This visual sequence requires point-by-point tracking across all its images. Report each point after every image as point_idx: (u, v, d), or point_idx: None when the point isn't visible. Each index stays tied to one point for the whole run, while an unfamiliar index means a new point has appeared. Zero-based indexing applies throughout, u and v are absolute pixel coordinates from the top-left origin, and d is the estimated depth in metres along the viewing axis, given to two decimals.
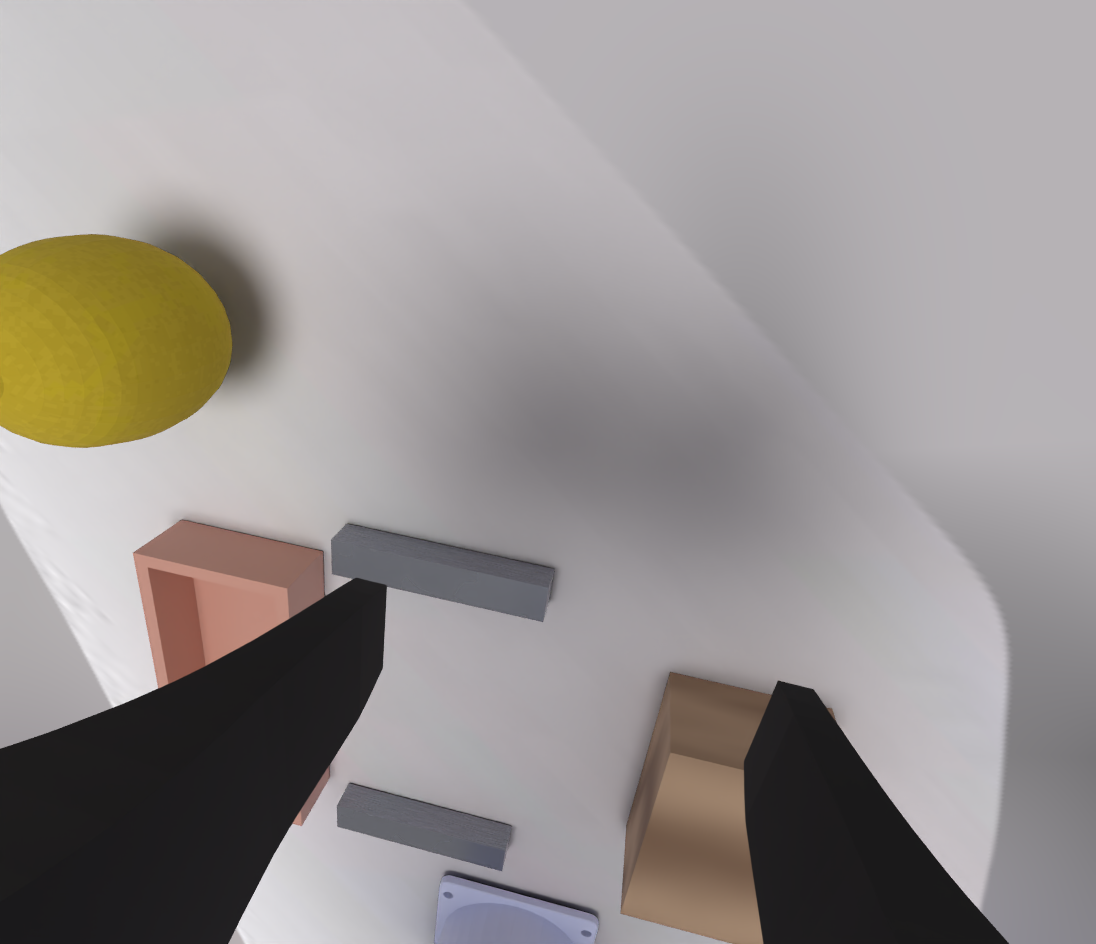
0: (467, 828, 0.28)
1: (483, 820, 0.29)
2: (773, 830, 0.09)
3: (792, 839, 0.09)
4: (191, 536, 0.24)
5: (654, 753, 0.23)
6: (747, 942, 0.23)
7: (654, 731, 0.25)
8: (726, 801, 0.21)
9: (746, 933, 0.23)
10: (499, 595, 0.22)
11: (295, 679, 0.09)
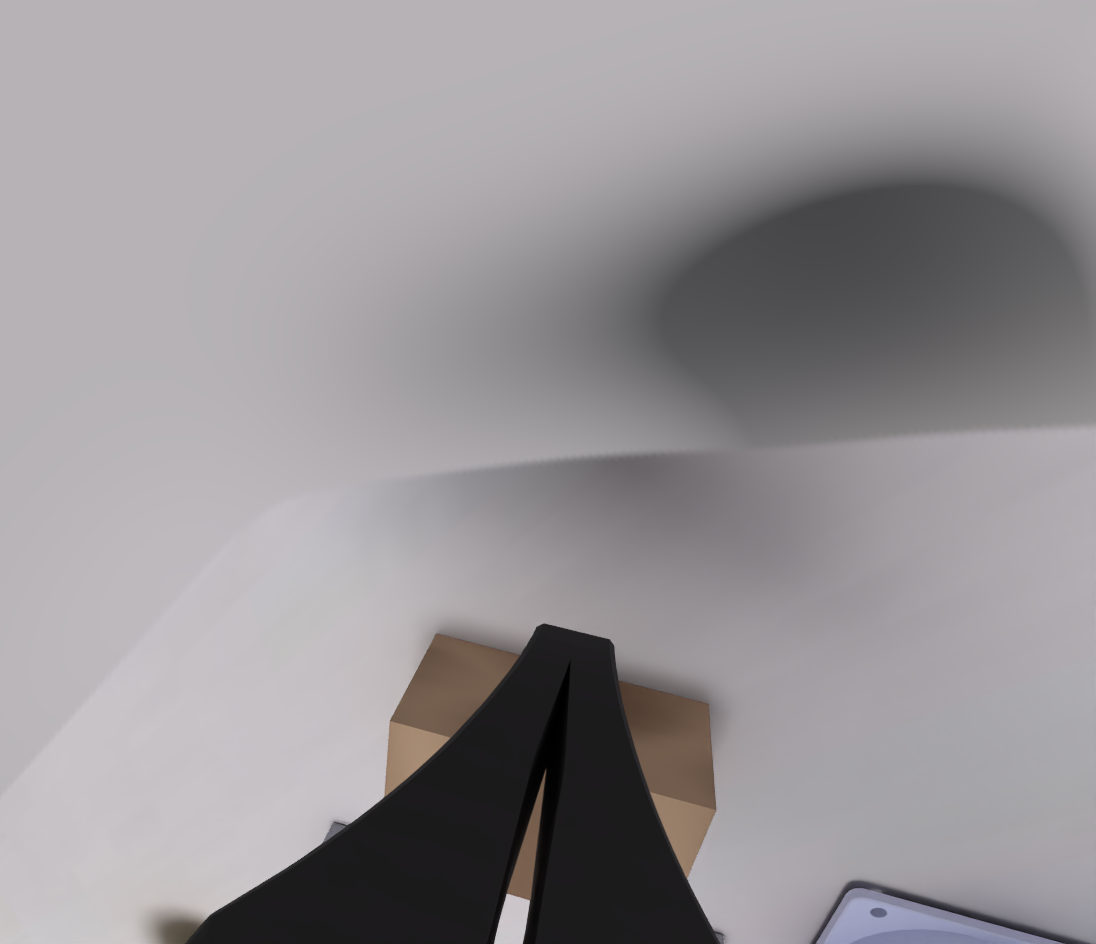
0: None
1: None
2: (550, 770, 0.10)
3: (553, 775, 0.09)
4: None
5: None
6: (692, 835, 0.17)
7: None
8: None
9: (671, 834, 0.17)
10: None
11: (540, 744, 0.08)
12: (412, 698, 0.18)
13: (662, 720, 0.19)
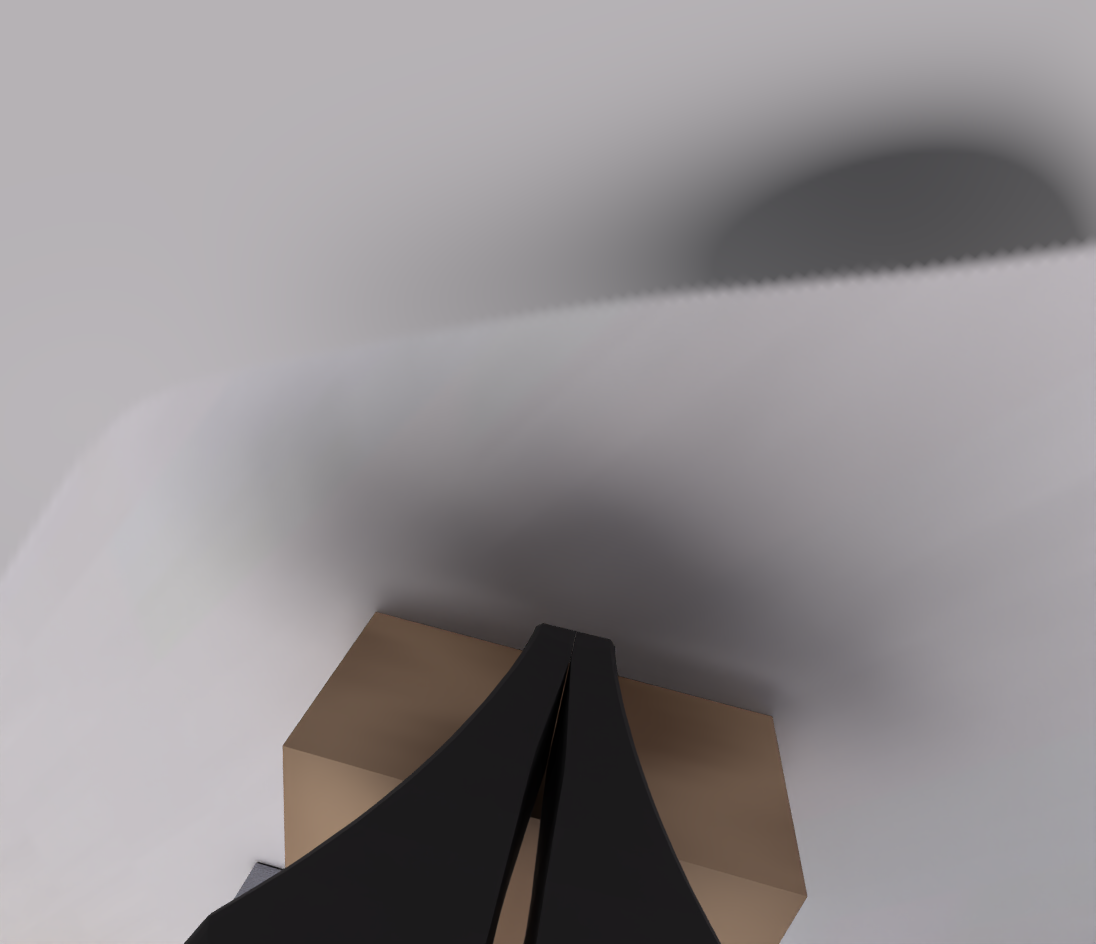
0: None
1: None
2: (551, 771, 0.10)
3: (553, 775, 0.09)
4: None
5: None
6: (763, 932, 0.10)
7: None
8: None
9: (729, 928, 0.11)
10: None
11: (539, 743, 0.08)
12: (325, 709, 0.12)
13: (708, 743, 0.12)
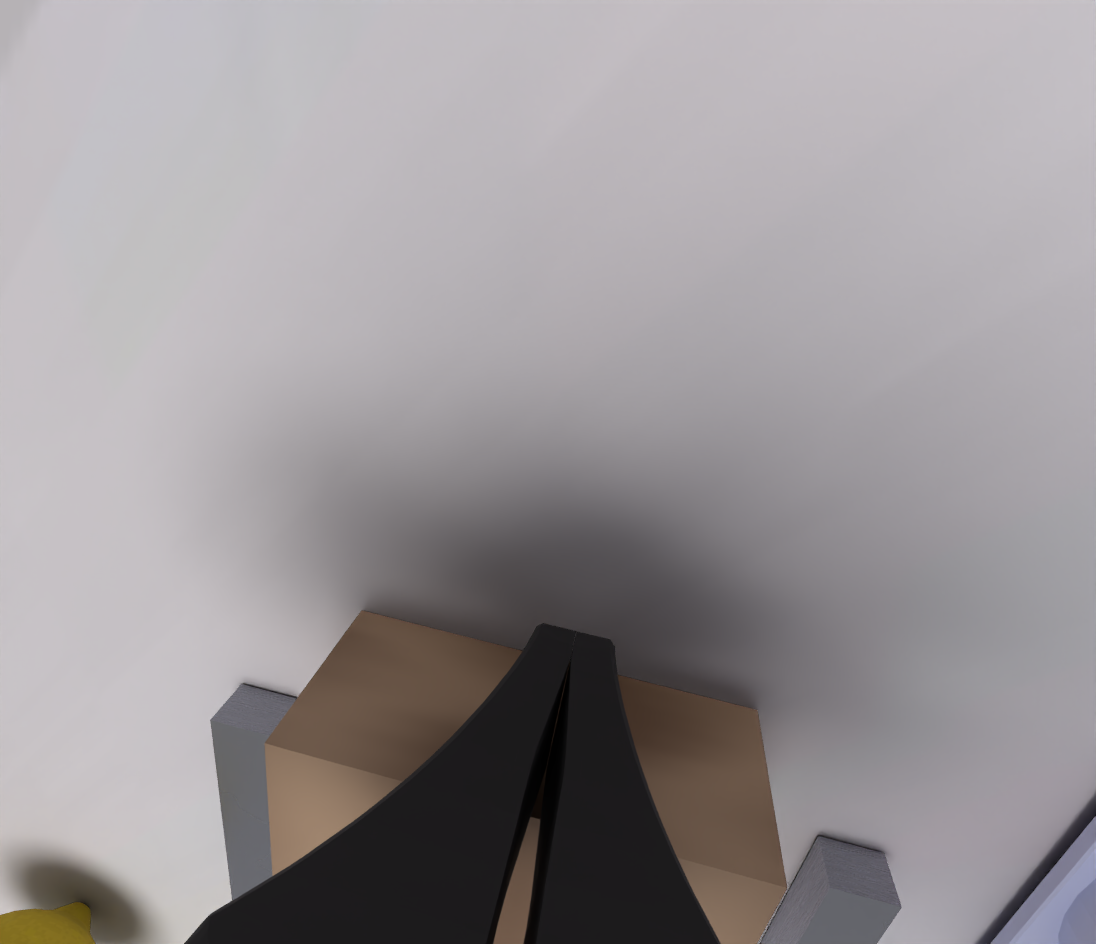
0: (796, 913, 0.15)
1: (800, 874, 0.15)
2: (550, 770, 0.10)
3: (553, 775, 0.09)
4: None
5: None
6: (745, 924, 0.10)
7: None
8: None
9: (711, 922, 0.11)
10: (243, 776, 0.15)
11: (540, 743, 0.08)
12: (307, 706, 0.12)
13: (691, 737, 0.12)
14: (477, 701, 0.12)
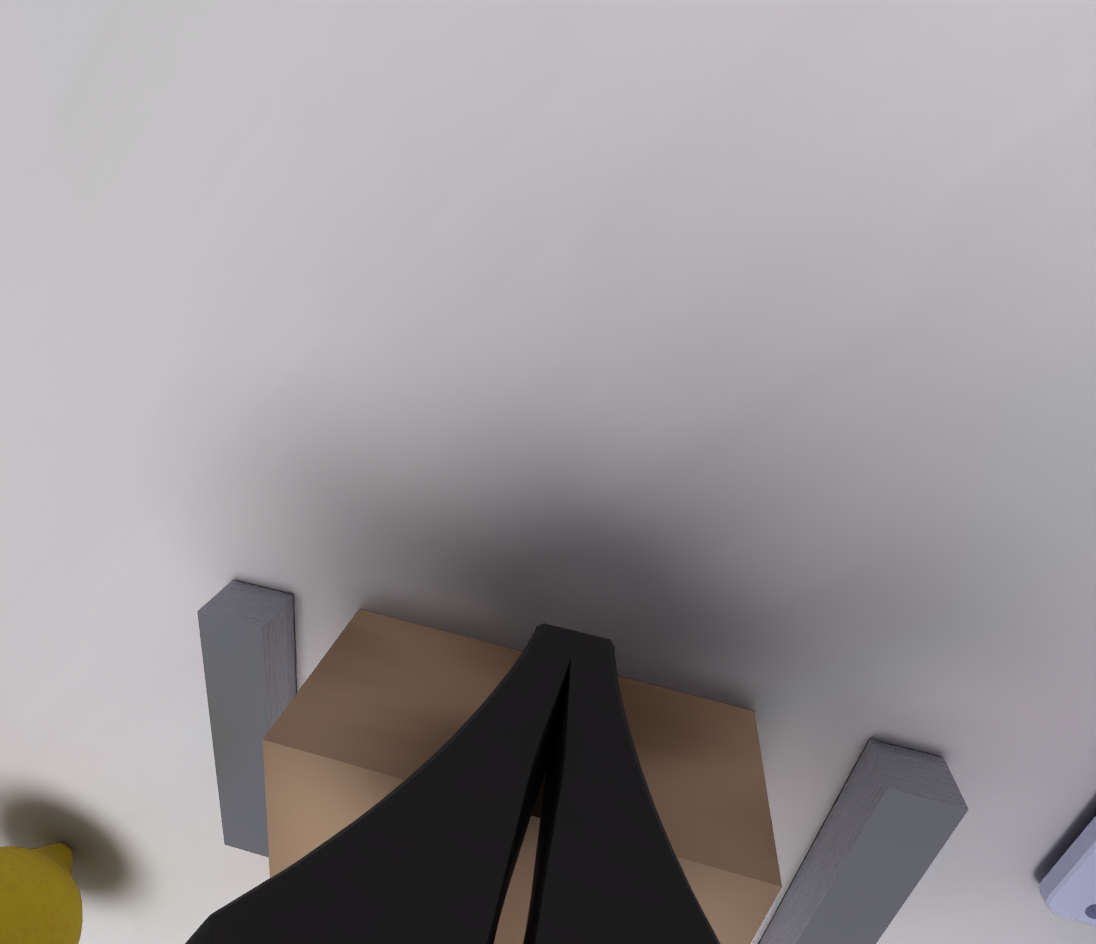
0: (844, 826, 0.13)
1: (848, 784, 0.14)
2: (550, 770, 0.10)
3: (553, 775, 0.09)
4: None
5: None
6: (740, 922, 0.11)
7: None
8: None
9: None
10: (234, 678, 0.14)
11: (540, 744, 0.08)
12: (306, 703, 0.12)
13: (688, 736, 0.12)
14: (475, 699, 0.12)
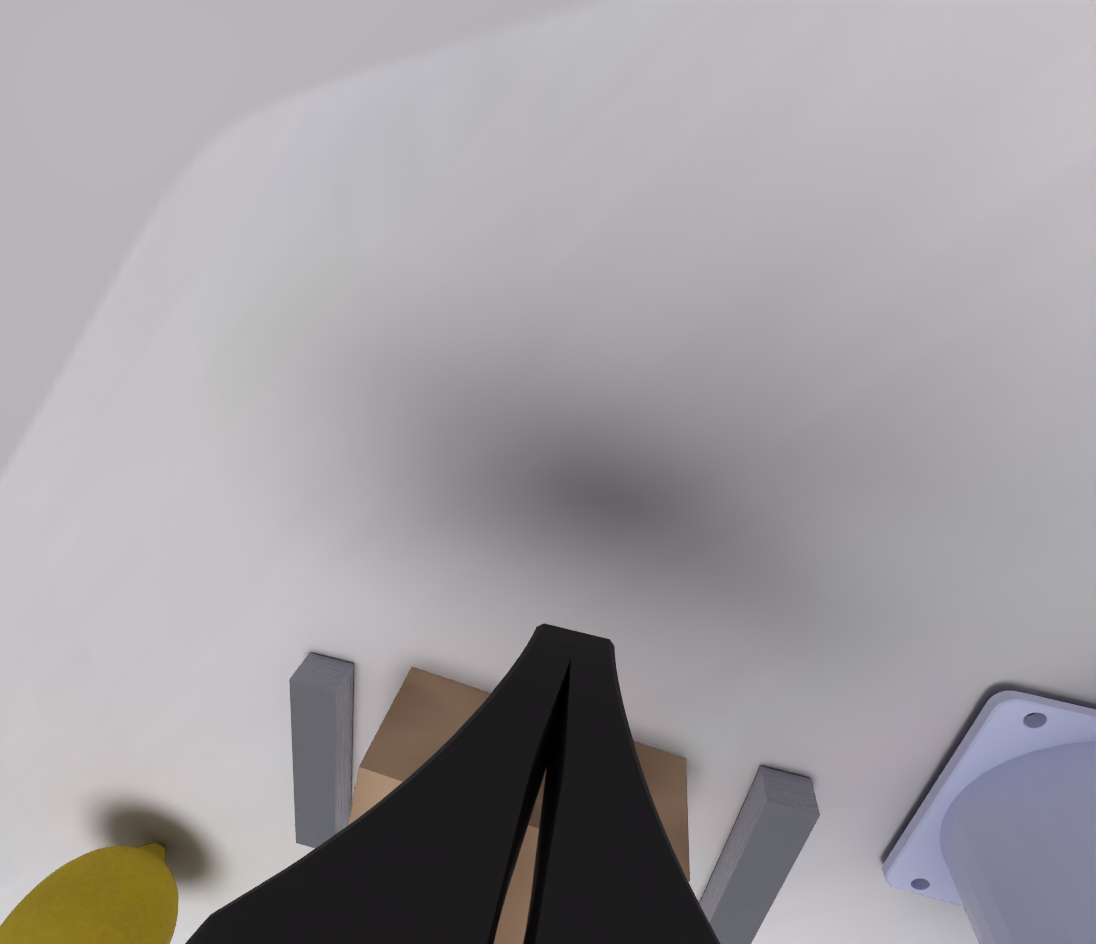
0: (744, 827, 0.19)
1: (748, 797, 0.19)
2: (550, 771, 0.10)
3: (553, 775, 0.09)
4: None
5: None
6: None
7: None
8: None
9: None
10: (313, 724, 0.20)
11: (540, 744, 0.08)
12: (383, 741, 0.17)
13: None
14: None
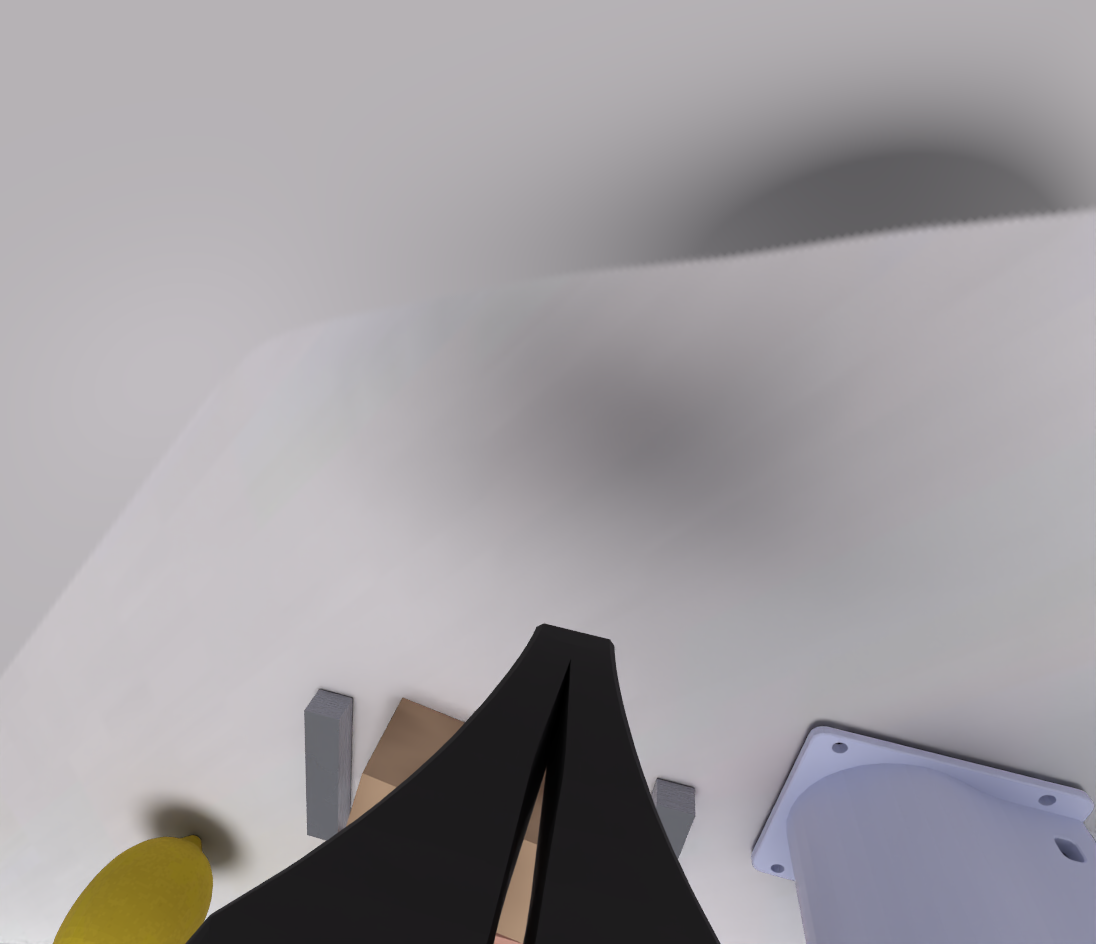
0: None
1: None
2: (550, 770, 0.10)
3: (553, 775, 0.09)
4: None
5: None
6: None
7: None
8: None
9: None
10: (321, 743, 0.26)
11: (540, 744, 0.08)
12: (380, 754, 0.23)
13: None
14: None
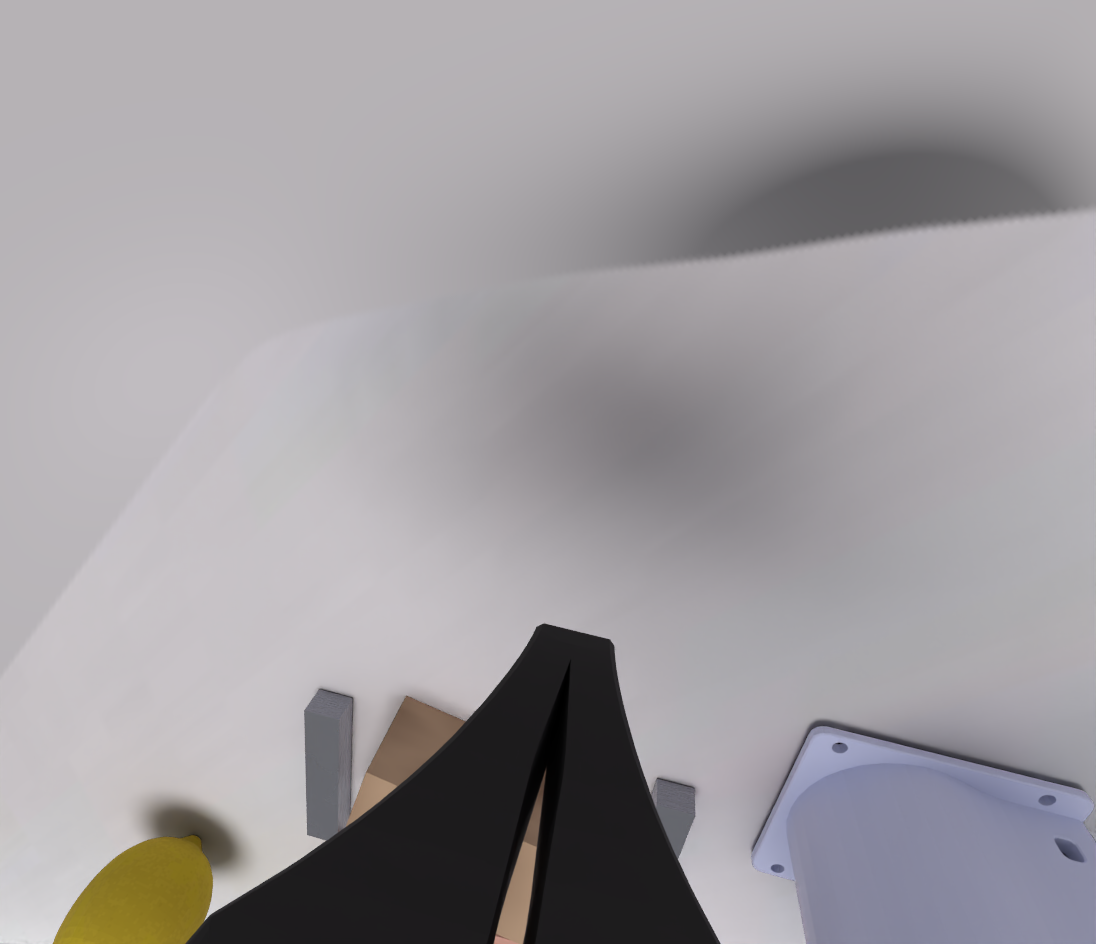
0: None
1: None
2: (550, 770, 0.10)
3: (553, 775, 0.09)
4: None
5: None
6: None
7: None
8: None
9: None
10: (321, 743, 0.26)
11: (540, 744, 0.08)
12: (384, 754, 0.23)
13: None
14: None
